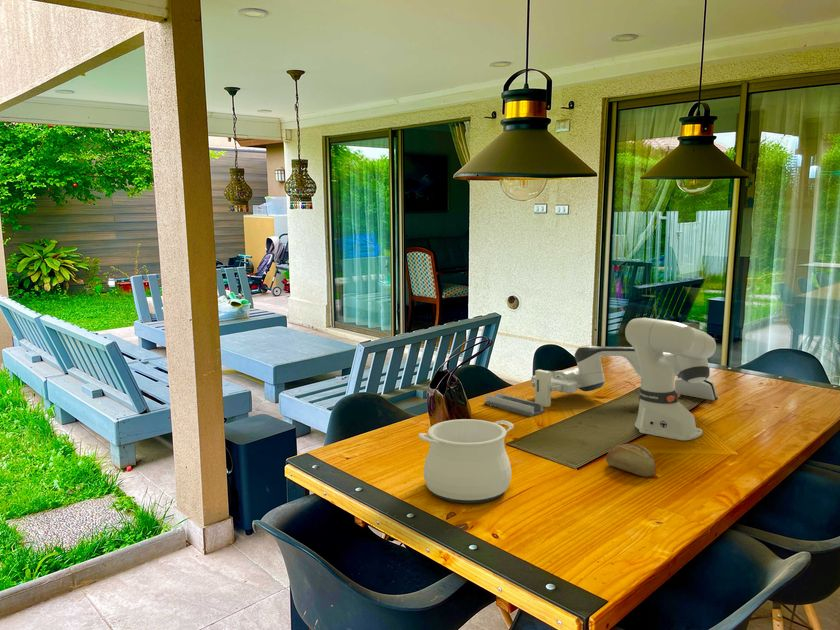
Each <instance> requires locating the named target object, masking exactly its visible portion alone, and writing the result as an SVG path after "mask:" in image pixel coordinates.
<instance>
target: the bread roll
mask: <svg viewBox="0 0 840 630" xmlns="http://www.w3.org/2000/svg"><path fill="white" fill-rule="evenodd" d="M605 460H606V461H605V462H606V463H607V464H608V465H609V466H611V467H613V468H617V469H620V470H623V471H624V472H625V471H626V472H629V473H632V474H634V475H637V476H640V477H644V478H650V477H653V476H654V475H655V472H656V463H655V460H654V458H653V454H652V453H651V452H650V450H649V449H647V447H645V446H643V445H640V444H638V443H635V442H634V443H633V442H629V441H628V442H623V443H621V444H618V445H616V446H614V447H612V449H610V450H609V451H608V452H607V454H606V457H605Z"/></svg>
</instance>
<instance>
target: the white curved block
mask: <svg viewBox="0 0 840 630" xmlns="http://www.w3.org/2000/svg"><path fill="white" fill-rule="evenodd" d="M674 390H675V392H676V393H677V394H679V393H681V394H680V395H683V396H689V397H693V398H699V399H705V400H710V401H715V399H719V395H718V393H717V391H716V388H715V383H714V381H712V380H710V379H709V378H707V379H706V380H704V381H702V382H699V383H688V382H686V381H684V380H682V379H681V378H680V377H678V376H677V378H676V379H674Z"/></svg>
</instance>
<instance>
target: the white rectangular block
mask: <svg viewBox="0 0 840 630" xmlns="http://www.w3.org/2000/svg"><path fill="white" fill-rule="evenodd" d="M549 371H550V370H543V369H537V370H535V371H534V373H535V374H534V375H535V387H534V402H536V403H540V404H543V407H545V408H548V407H552V406H551V403H552V402H551V400H552V394H551V393H552V391H550V387H551V372H549Z"/></svg>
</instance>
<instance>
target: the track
mask: <svg viewBox="0 0 840 630" xmlns="http://www.w3.org/2000/svg"><path fill="white" fill-rule="evenodd" d="M485 397H486V398H485V401H483V405H485V404H488V405H491V406H490V407H492V406H494V407H493V408H495V407H498V408H497V409H499V408H501V409H500V410H503V409H504V411H506V410H508V412H510V411H511V413H513V412H514V414H518V415H521V416H525V417H529V418H531V417H534V416H537V415H541V414H543V413H546V410H545V409H544V406H543V404H540V403H536V402H535V401H531V400H529V399H523V398H520V397H516V396H513V395H508V394H503V393H500V392H495V393H494V396H493V395H490V394H487V395H486V396H485ZM488 405H487V406H488Z"/></svg>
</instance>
